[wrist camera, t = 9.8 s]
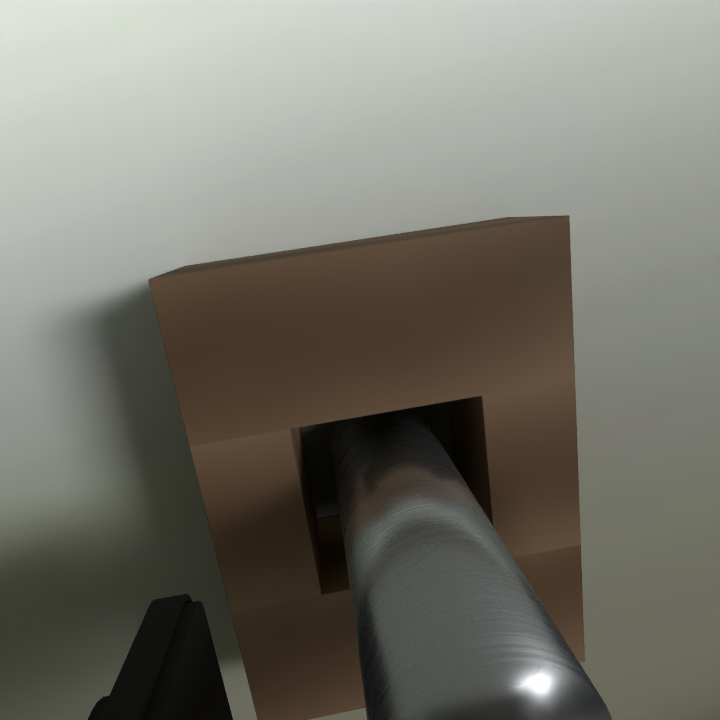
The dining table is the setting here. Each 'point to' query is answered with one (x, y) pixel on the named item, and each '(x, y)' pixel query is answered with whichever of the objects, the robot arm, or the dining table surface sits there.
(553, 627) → the peg
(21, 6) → the dining table surface
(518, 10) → the dining table surface
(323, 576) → the hole block
